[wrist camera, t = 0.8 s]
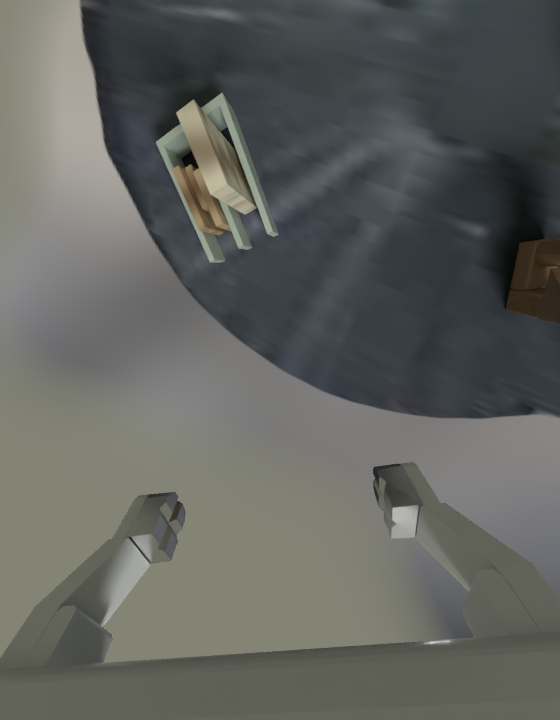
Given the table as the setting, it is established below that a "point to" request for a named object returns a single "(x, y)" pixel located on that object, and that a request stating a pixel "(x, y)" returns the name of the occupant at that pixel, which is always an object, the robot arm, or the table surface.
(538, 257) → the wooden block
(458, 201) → the table surface
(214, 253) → the rack
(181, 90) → the table surface
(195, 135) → the beige brown rectangular slab
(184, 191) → the offcut stack
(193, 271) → the table surface
